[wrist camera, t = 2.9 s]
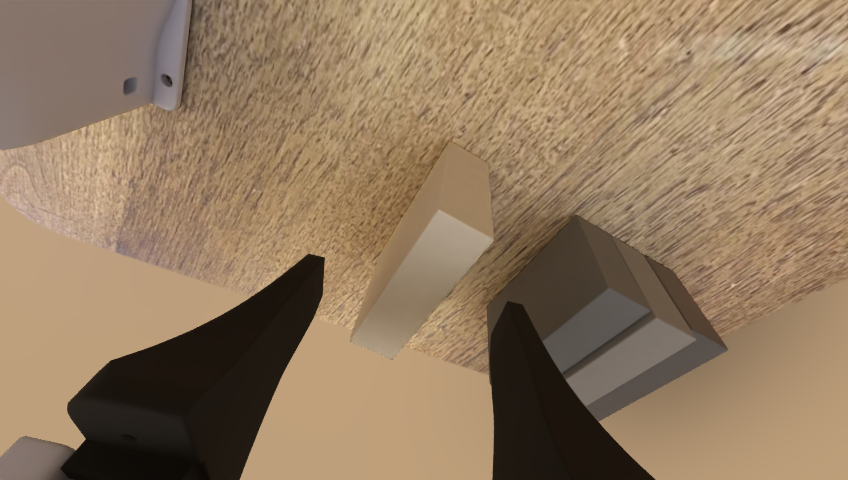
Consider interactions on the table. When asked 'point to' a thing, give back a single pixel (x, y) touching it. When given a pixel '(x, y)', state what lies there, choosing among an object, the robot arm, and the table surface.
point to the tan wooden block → (427, 252)
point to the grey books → (609, 317)
